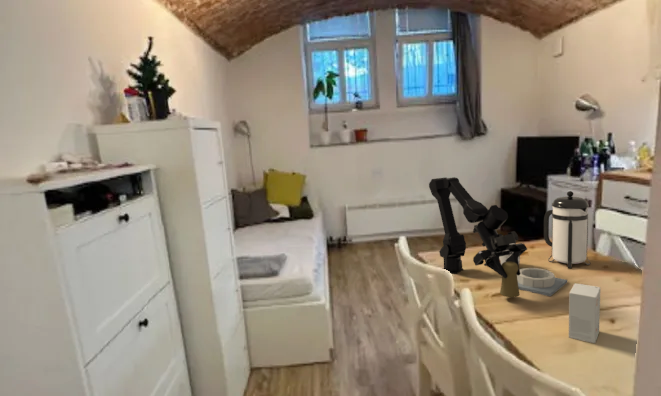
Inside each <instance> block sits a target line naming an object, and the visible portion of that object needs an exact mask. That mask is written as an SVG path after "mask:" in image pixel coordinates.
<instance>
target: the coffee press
mask: <svg viewBox="0 0 661 396" xmlns="http://www.w3.org/2000/svg"><path fill="white" fill-rule="evenodd" d="M566 195H567V196H560V197H557V198H555V199H553V202H552V203H551V207H552V209H549V210H547V211H546V212H545V214H544V215H543V216H544V217H543V239H544V241H545V244H546V245H548V246H549V247H551V255H550V257H548V263H553V262H554V261H556V262H559V263H563V264H567V269H568V270H569V269H570V270H571V269H573V265H574V264H575V265H576V264H582V263H584V264H586V265H587V266H590V265H591V261H590V260H589V258H588V257H587V251H588V236H589V212H588V209H589V206H590V203H588V201H587V200H586V199H585V198H583V197H579V196H574V192H573V191H571V190H570V191H567V192H566ZM550 217H551V218H552V234H551V240H550V233H549V231H550V229H549V228H550ZM551 258H553V259H552V260H550V259H551ZM586 261H588V262H589V263H587V262H586Z"/></svg>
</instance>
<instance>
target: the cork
mask: <svg viewBox="0 0 661 396" xmlns="http://www.w3.org/2000/svg"><path fill="white" fill-rule="evenodd" d="M502 267H503V269H504V270H505V272H506V274H507V278H504V277H502V276H501V285H500V290H499V291H500V292H499V294H500V295H501V296H504V297H506V298H518V297H519V296H520V289H519V287H518V280H517V271H518V265H517V264H516V263H515V262H510V261H507V262H504V263H503V264H502Z"/></svg>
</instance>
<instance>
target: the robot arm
mask: <svg viewBox="0 0 661 396" xmlns="http://www.w3.org/2000/svg"><path fill="white" fill-rule="evenodd" d="M428 187H429V190H430V193H431V195H432V196H433V198H435V200H437V205H438V209H439V213H440V217H441V218H440V219H441V221H442V226H443V230H444V237H443V239H442V247H441V248H440V250H439V251H438V252H439V256H440V257H441V258H443V269H446V270H448V271H450V272H451V273H450V274H455V275H456V274H458V273H460V272H461V271H464V268H463V260H462V257H464V256H465V253H466V249H467V243H466V239H465V236H464V234H461V233H459V231H458V229H457V224H456V220H455V216H454V211H453V209H452V204H451V203H452V202H451V199H450V196H451V194H452V196H453V197H454V199H456V201H457V202H458V203H459V205H460V206H461V207H462V209H463V210H462V212H463V215H464V217H465V220H467V222H468V223H469V224H474V223H477V224H474V227H473V230H472V232H473V234H474V233H478V235H479V237H480V239H481V240H482V243H481V245H482V247H486V249H483V250H479V251H478V252H477V253H476V254H475V255H474V256H473V258H472V259H473V260H472V262H473V264H474V265H475V266H481V265H484V266H485V267H487V268H489V269H491V270H493V271H494V272H495V273H497V274H498V275H500V276H501V278H502V277H504V278H507V274H506V272H505V270H504V269H503V267H502V265H501V263H500V260H499V257H500V256H506V257H507V260H505V261H506V262H507V261H510V262H515V263H516V264H517V265H518V271H517V275H520V269H521V268H520V263H519V264H518V257H519V256H520V257H521V256H522V255H523V254H524V253H525V252H526V251H527V250H528V247H527V246H526V245H525V243H523V242H520V243H517V241H518V240H519V239H520V237H519V236H518V234H517V232H516V231H515V230H512V231H509V232H507V234H505V235H503V234H501V233H498V232H497V230H499V228H501V226H502V225H504V223H505V222H506V221H507V220H508V218H509V215H508V212H507V211H506V210H505V209H503V208H501V207H498V205H497V204H493V205H491V206H489V209H488V208H487V207H486V206H485V205H484V204H483V203H481V202H480V201H477V200H476V199H474V198H473V197H472V196H471V194H470V193H468V191H467V190H466V188H465V187H464V186H463V185H462V183H461V182H460V180H459V178H458V177H455V176H454V177H445V176H444V177H438V178H432V179H431V180H430V182H429V183H428ZM512 243H515V244H514V245H513V246H512V247H511V248H510V249H507V247H509V246H510V245H509V244H512ZM484 262H485V263H484Z"/></svg>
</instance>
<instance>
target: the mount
mask: <svg viewBox="0 0 661 396" xmlns="http://www.w3.org/2000/svg"><path fill="white" fill-rule="evenodd" d="M519 269H520V275H517V280H518V287H519V290H521V291H526V292H529V293H534V294H537V295H542V296H547V297H551V296H553V295H554V294H555V293H556V292H557V291H559V290H560V289H561V288H563V287H564V286H565V285H566V284H568V279H564V278H560V277H556V276H555V273H554V272H552V271H550V270H547V269H544V268H538V267H526V268H524V267H523V268H519Z"/></svg>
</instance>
